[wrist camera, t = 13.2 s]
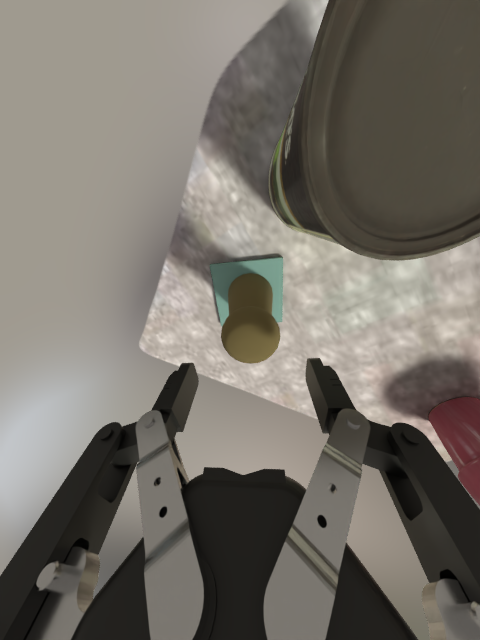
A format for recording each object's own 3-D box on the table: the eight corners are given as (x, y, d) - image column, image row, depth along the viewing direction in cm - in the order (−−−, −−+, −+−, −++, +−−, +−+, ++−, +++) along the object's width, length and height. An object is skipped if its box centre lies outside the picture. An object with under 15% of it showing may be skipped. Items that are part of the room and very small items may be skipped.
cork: (220, 281, 23) (200, 327, 14) (265, 266, 22) (278, 304, 12) (236, 319, 26) (229, 379, 16) (277, 308, 25) (295, 365, 15)
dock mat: (282, 256, 22) (282, 257, 21) (281, 319, 26) (282, 321, 26) (210, 264, 23) (209, 265, 22) (221, 323, 27) (221, 326, 27)
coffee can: (247, 195, 19) (243, 156, 7) (321, 65, 14) (746, -834, 2) (317, 253, 21) (407, 301, 9) (399, 158, 17) (795, 4, 5)
